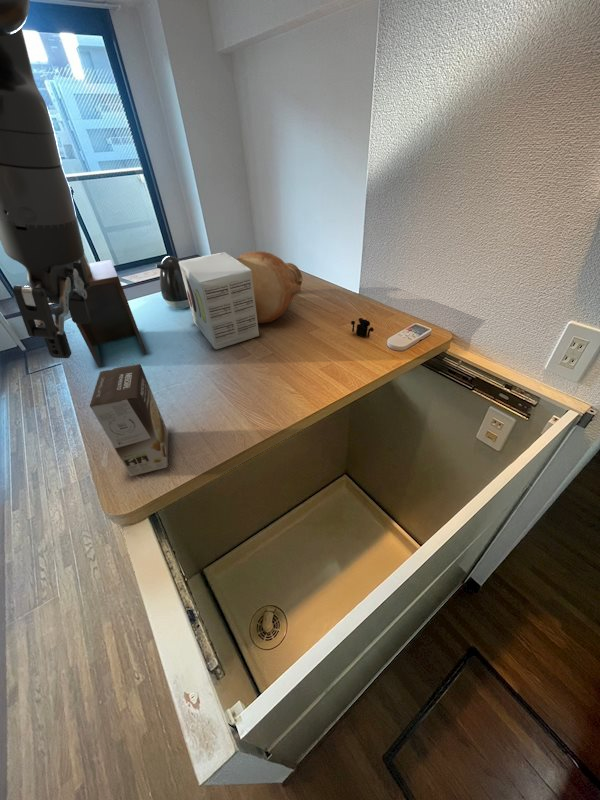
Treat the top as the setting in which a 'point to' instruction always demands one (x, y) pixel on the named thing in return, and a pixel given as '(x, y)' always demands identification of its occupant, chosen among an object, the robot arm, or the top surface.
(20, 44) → the robot arm
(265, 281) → the jug
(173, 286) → the pump dispenser
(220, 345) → the supplement box
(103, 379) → the coffee box
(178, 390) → the top surface
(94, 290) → the shelf
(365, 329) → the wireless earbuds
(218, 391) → the top surface
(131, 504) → the top surface
